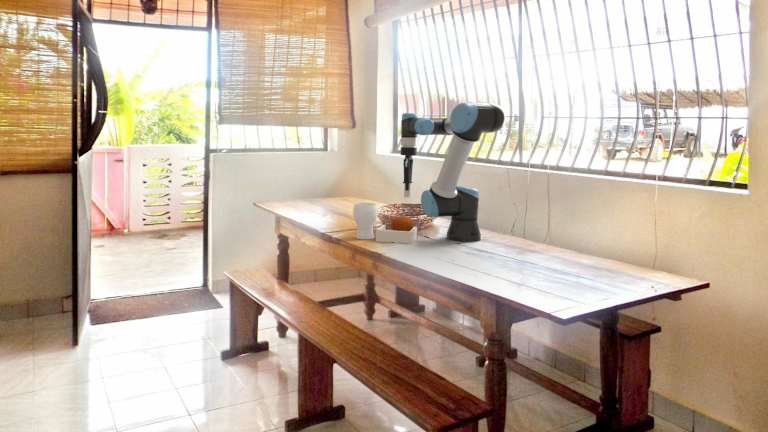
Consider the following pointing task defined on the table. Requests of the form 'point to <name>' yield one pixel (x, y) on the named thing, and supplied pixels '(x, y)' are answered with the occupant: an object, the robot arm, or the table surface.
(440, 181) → the robot arm
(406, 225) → the fruit
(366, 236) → the cup
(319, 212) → the table surface
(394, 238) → the frame
